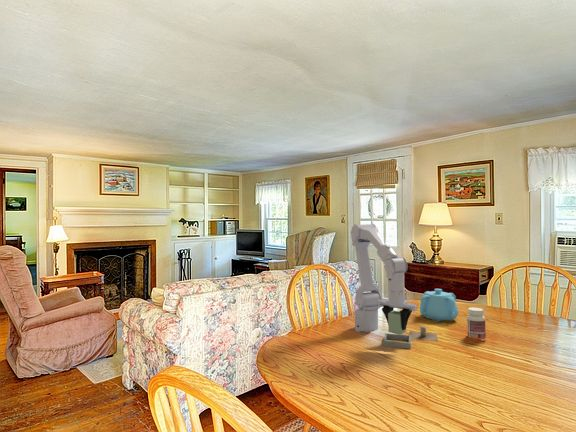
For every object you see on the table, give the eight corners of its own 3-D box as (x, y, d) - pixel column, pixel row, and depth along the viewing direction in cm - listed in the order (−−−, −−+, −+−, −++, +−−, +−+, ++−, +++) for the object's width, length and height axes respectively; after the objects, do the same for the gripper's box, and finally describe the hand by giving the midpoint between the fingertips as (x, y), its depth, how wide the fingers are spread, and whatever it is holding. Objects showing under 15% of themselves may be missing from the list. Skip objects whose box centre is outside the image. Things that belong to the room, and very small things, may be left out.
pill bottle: (489, 341, 136) (488, 310, 136) (474, 342, 135) (473, 311, 135) (478, 335, 142) (478, 306, 142) (464, 336, 141) (463, 307, 141)
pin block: (409, 341, 137) (409, 329, 137) (409, 333, 146) (409, 322, 146) (438, 343, 133) (437, 332, 133) (436, 335, 143) (436, 324, 143)
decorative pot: (415, 320, 165) (414, 290, 165) (424, 312, 178) (424, 284, 178) (454, 325, 155) (453, 294, 156) (461, 317, 169) (460, 287, 169)
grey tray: (383, 348, 130) (382, 341, 130) (385, 339, 139) (385, 333, 139) (410, 350, 127) (410, 343, 127) (411, 342, 136) (411, 335, 136)
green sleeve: (388, 332, 133) (388, 312, 133) (394, 329, 136) (393, 310, 136) (400, 334, 130) (400, 314, 130) (406, 331, 133) (405, 312, 133)
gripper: (420, 291, 131) (421, 329, 131) (383, 286, 141) (384, 322, 141) (412, 294, 126) (413, 333, 126) (374, 289, 136) (375, 326, 136)
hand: (397, 328), depth 133 cm, fingers closed on green sleeve, 5 cm apart
